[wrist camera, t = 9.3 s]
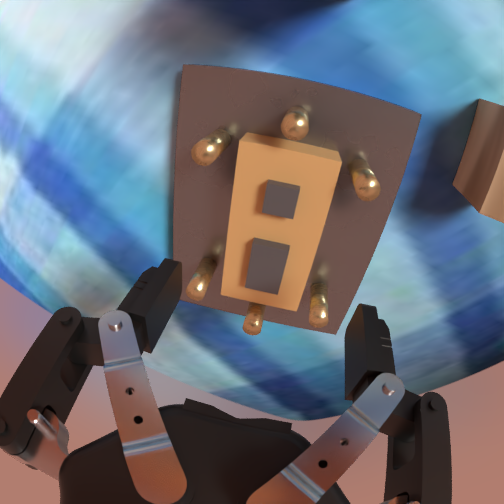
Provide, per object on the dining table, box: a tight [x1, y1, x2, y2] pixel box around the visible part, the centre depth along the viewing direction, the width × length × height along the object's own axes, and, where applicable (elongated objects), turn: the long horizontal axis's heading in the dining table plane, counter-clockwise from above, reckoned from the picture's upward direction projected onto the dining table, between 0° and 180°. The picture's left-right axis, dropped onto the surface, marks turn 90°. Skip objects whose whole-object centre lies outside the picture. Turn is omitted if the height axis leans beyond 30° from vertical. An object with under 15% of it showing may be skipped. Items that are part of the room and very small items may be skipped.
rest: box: [452, 99, 504, 223], centre depth 13 cm, size 3×6×4 cm, turn 171°
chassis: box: [173, 64, 422, 335], centre depth 18 cm, size 13×17×4 cm
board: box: [221, 132, 342, 311], centre depth 17 cm, size 5×10×3 cm, turn 171°
